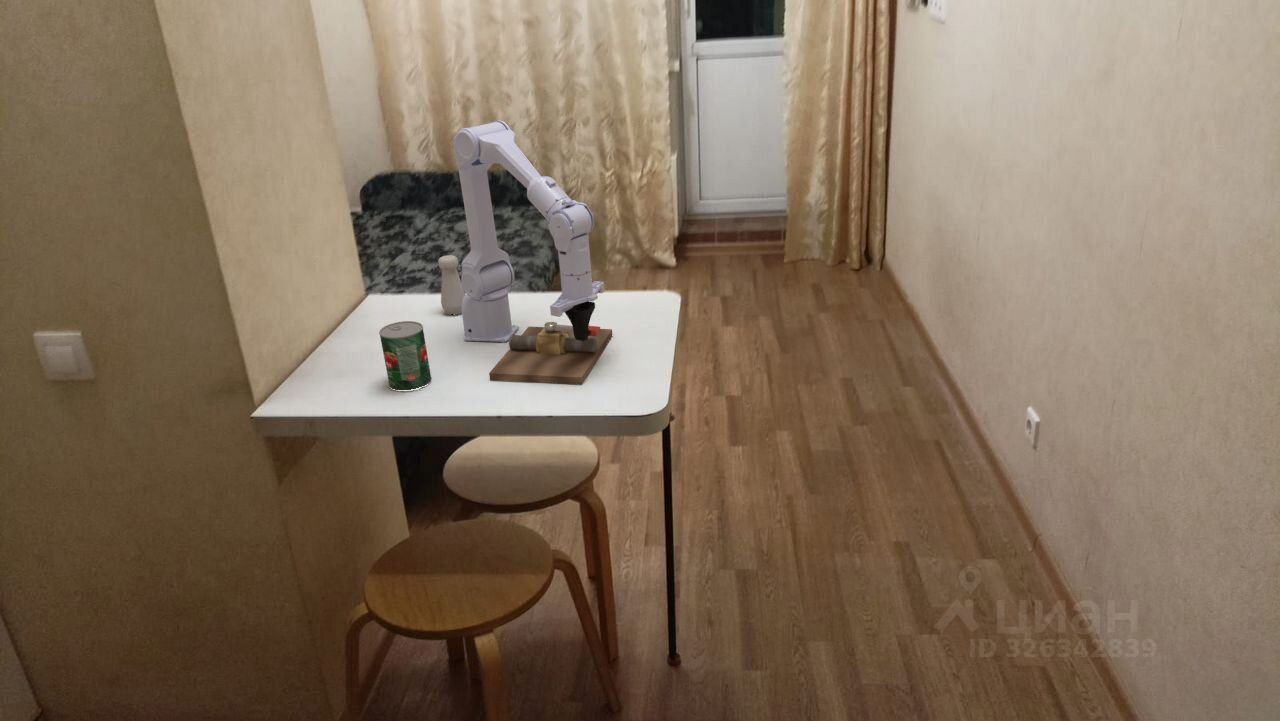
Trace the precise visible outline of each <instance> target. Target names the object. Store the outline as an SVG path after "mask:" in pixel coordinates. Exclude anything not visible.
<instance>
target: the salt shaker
mask: <svg viewBox="0 0 1280 721" xmlns="http://www.w3.org/2000/svg"><path fill="white" fill-rule="evenodd" d="M437 263H438V267H439V269H440V270H441V287H440V288H441V291H440V292H441V293H440V295H441V296H440V304H441V307H442V309H443V310H444V311H445V313H446V314H447V315H448V314H449V315H448V316H458V315H457V314H459V315H462V314H461V313H462V301H463V298H464V296H465V295H466V293H465V291H464V289H463V287H462V282H461V278H460V276H459V271H458V270H457V269H458V268H457V267H458V266H459V260H458V256H455V255H451V254H450V255H449V254H448V255H443V256H441V257H439V258H438V262H437ZM451 314H453V315H451ZM454 314H455V315H454Z"/></svg>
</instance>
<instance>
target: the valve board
mask: <svg viewBox="0 0 1280 721" xmlns="http://www.w3.org/2000/svg"><path fill="white" fill-rule="evenodd" d="M600 331H601V333H600V334H599V335H598V336H588V339H587V340H585V341H581V340H576V339H575V336H574V332H564V331H555V332H546V331H545V326H527V327H526V329H525V330H524V331H523V333H521V335H518V334H513V335H511V336H510V338H509V340H508V346H509V348H508V350H507V351H506V353H505V354H504V355H503V356H502V357H501V358H500V359H499V361H498V362H497V363H496V364H495V366H494V367H493V368H492V369H491V370H490V372H488V374H489V381H495V382H514V383H516V382H517V383H537V384H538V383H540V384H559V385H561V384H562V385H582V386H583V384H584V383H585V381H586V380H587V378H588V376H589V375H590V373H591V371H592V370H593V368H594V367H595V365H596V363H597V362H598V361H599V358H600V357H601V356H602V354H603V352H604V351H605V349H606V348H607V345H609V342H610V340H612V338H611V337H613V336H612V335H613V329H611V328H600Z"/></svg>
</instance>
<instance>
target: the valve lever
mask: <svg viewBox="0 0 1280 721" xmlns="http://www.w3.org/2000/svg"><path fill="white" fill-rule="evenodd" d="M544 327H545V331H546V332H555V331H564V332H573V326H572V325H568V324H557V322H556V321H548V322H545V323H544ZM600 329H601V326H597V325H589V326H588V336H598V335H599V334H600V333H601V331H600Z"/></svg>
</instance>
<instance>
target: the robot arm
mask: <svg viewBox="0 0 1280 721" xmlns="http://www.w3.org/2000/svg"><path fill="white" fill-rule="evenodd" d="M515 133H516V132H514V131H513V130H511V128H510V126H509V125H508V124H507V123H506V122H505V121H503V120H495V121H493V122H490V123H485V124H481V125H476V126H471V127H464V128H463V127H462V128H460V129H459V130H458V131H457V133H456V134H455V135H454V137H453V138H452V142H453V148H454V156H455V162H456V168H457V170H458V175H459V181H460V186H461V187H460V188H461V195H462V201H463V204H464V213H465V218H466V219H465V220H466V224H467V232H468V237H469V244H470V251H469V253H468V254H467V255H466V257H464V259H463V261H462V262H461V269H462V272H461V278H460V280H461V283H462V287H463V289H464V292H465V296H464V298H463V301H462V314H461V315H462V322H463V323H462V324H463V330H464V337H463V340H464V341H468V342H469V341H470V342H471V341H473V342H492V343H493V342H497V343H498V342H500V343H501V342H502V343H507V342H509V338H510V336H511V335H515V333H516V331H518V330H519V328H520V326H519V325H513V324H512V316H511V315H512V314H511V308H510V307H511V306H510V301H509V300H510V299H509V293H510V292H511V286H513V284H514V283H515V271H514V268H513V266H512V265H511V261H510V256H509V253H507V252H506V251H504V250H503V249H500V248H499V245H498V239H497V238H498V237H497V232H496V225H495V219H494V211H493V205H492V196H491V189H490V183H489V176H488V170H489V169H490V168H491V167H492V165H493V164H499V165H501V166H502V167H503V168H504V169H505V170H506V171H507V172H509V173H510V174H511V175H512V176H513V177H514V178H515V179H516V180H517V181H519V183H521V185H523V187H525V188H526V189H527V190H526V191H527V192H526V197H527V200H528V201H529V202H530V203H531V205H532V206H534V207H535V208H536V210H538V212H539V213H540V214H541V215H542V216H543V217H544V218H545V219H546V220H547V221H548V224H547V226H548V230H549V233H550V235H551V237H552V238H553V241H554V247H555V249H556V250H557V252H558V255H557V256H558V262H559V274H560V286H561V294H560V295H559V297H557V299H555V301H554V302H553V303H551V304H550V305H549V309H550V316H553V317H558V318H560V317H561V316H563V314H565V315H566V317H567V318H568V320H569V321H570V324H571V326H573V332H574V336H575V339H576V340H581V341H585V340H587V339H588V326H590V322H591V318H592V315H593V313H594V311H595V309H596V303H595V302H594V301H596V300H597V299H598V298H599V297H598V294H603V293H605V282H603V281H598V280H597V281H596V280H595V281H593V276H592V264H591V252H590V251H591V250H590V241H589V234H590V233H591V232H592V231H593V229H594V226H595V219H594V218H595V217H594V215H593V213H592V211H591V210H590V208H589V206H588V204H585V203H583V202H578V201H577V200H576V199H575V200H574V199H573V200H572V199H571V197H570V196H569V195H568V194H567V193H566V192H565V191H564V190H563V189H562V188H561V187H560V186H559V184H557V182H556V181H555V179H554V178H553V177H550V176H548V175H547V176H545V175H544V176H541V174H540V173H539V171H538V170H537V169H536V168H535V167H534V165H533V164H532V163H531V162H530V160H529V159H528V158H527V157H526V155H525V154H524V153H523V151H522V150H521V148H520V147H519V146H518V145H517V138H516V134H515Z"/></svg>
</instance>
